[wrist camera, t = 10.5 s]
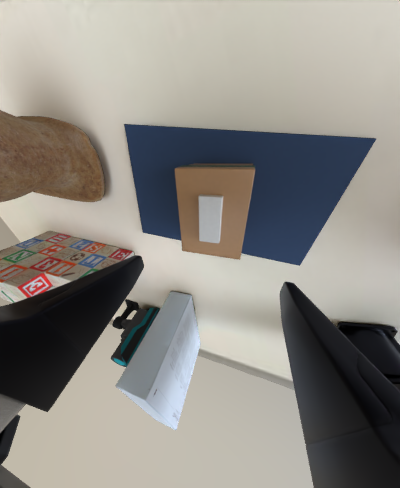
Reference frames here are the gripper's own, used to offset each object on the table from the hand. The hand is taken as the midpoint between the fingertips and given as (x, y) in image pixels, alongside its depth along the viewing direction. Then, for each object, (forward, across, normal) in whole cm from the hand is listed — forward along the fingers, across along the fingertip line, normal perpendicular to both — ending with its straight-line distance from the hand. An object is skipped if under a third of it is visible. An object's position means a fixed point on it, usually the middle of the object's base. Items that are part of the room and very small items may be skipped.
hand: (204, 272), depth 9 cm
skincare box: (+12, +8, +29) cm, 32 cm away
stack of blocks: (+12, +28, +12) cm, 32 cm away
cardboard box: (+12, +1, -1) cm, 12 cm away
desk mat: (+12, +1, -1) cm, 12 cm away
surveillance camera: (+12, +20, +29) cm, 37 cm away
